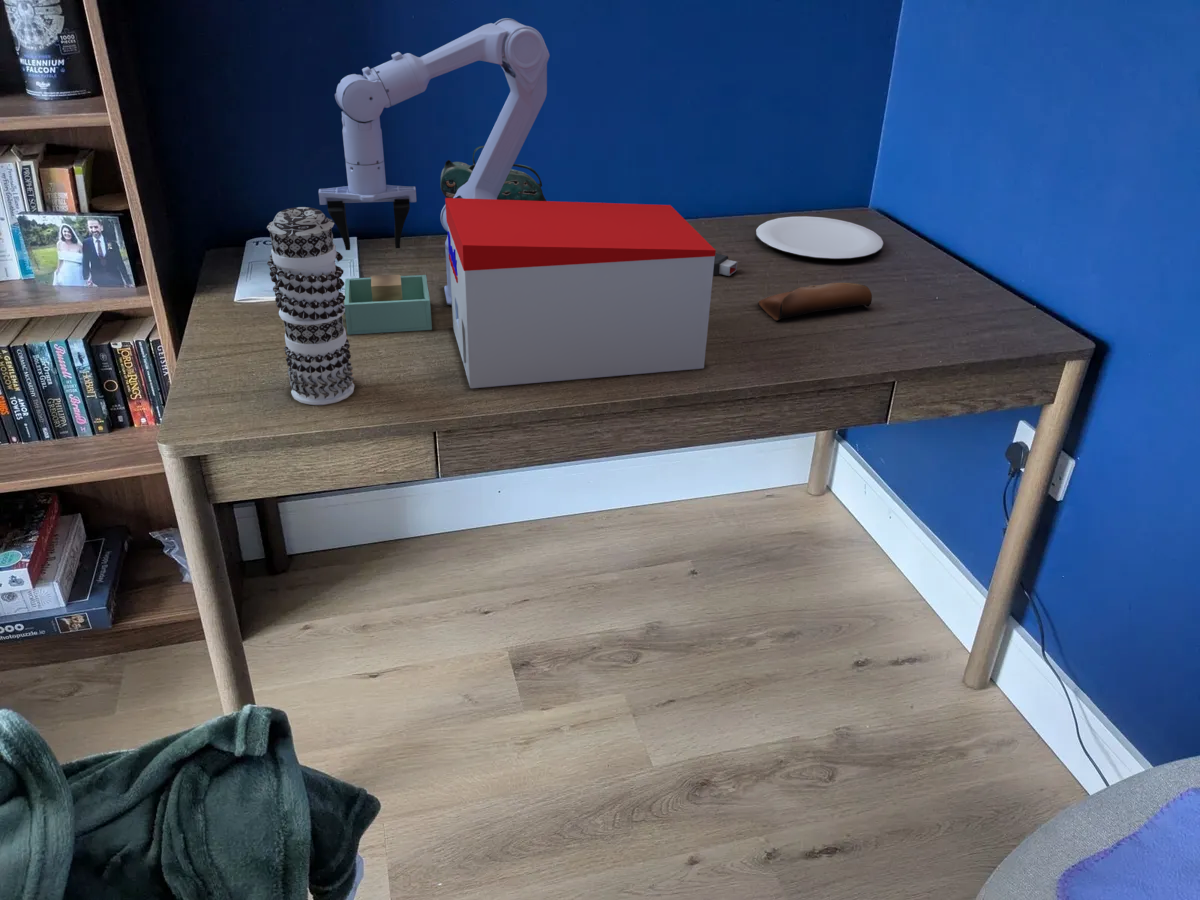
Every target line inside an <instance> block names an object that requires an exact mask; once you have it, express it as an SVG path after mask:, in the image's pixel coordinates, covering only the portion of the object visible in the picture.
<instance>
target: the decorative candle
mask: <svg viewBox="0 0 1200 900" xmlns="http://www.w3.org/2000/svg"><path fill="white" fill-rule="evenodd" d="M334 225H335V222H334V220H333V219H332V218H329V217H327V216H326V215H325V214H324V212H323V211H322V210H320V209H318V208H315V207H308V206H307V207H306V206H298V207H290V208H286V209H283V210H281V211H278V212H277V213H276V215H275V216H274V218H273V221H271V222H269V223H268V224H267V226H266V229H267V230H268V231H269V237H270V242H271V250H270V252H271V253H270V255H269V256H268V258H269V259H268V260H267V266H268V267H269V271H270V272H269V276H270V280H271V282H272V283H274V286H273V287H272V291H273V292H274V296H275V298H274V301H275V302H276V303H275V305H276V307H277V308H279V311H278V316H279V317H280V319H281V320H282V321H283V326H284V331H285V332H284V342H285V345H284V347H283V350H284V354H285V356H286V358H285V361H286V365H287V366H288V368H287V375H288V378H289V380H288V381H289V382H288V383H289V386H290V389H291V391H290V392H291V393H290V394H291V396H292V398H293V399H294V400H295V401H297V402H299V403H301V404H304V405H305V404H306V405H311V406H323V405H324V406H325V405H330V404H335V403H338V402H341V401H344V400H346V399H347V398H349V397H350V396H351V395H352V394H353V393H354V389H355V384H354V382H353V381H354V379H355V377H354V376H353V372H352V371H353V369H354V368H353V366H352V362H351V361H350V359H351V358H352V354H351V351H350V350H349V349H350V347H351V345H350V341H349V339H347V329H346V328H345V327H344V318H343V315H344V314H345V306H344V300H345V294H343V293H342V292H341V291H340V290H341V289H342V288H343V287H345V281H344V280H343V279H342V278H341V277H342V276H343V274H344V271H345V270H344V269H342V268H341V266H338V265H337V264H336V262H337V263H339V262H340V261H342V260H343V259H344V256H343V254H342V253H341V252H339V251H337V247H336V246H337V245H335V243H334V234H333V231H332V228H333V227H334Z"/></svg>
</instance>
